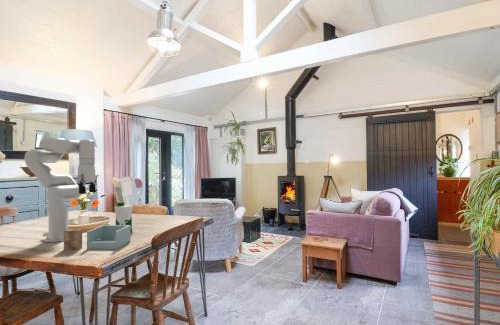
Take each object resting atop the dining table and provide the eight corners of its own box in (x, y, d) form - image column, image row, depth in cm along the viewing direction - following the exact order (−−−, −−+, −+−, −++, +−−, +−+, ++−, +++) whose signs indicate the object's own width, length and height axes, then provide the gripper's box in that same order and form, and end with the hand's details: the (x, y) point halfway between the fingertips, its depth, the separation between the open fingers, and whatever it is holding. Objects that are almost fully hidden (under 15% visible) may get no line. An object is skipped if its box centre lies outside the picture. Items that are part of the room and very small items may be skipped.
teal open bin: (86, 248, 140) (86, 231, 140) (103, 240, 155) (103, 225, 155) (117, 248, 140) (117, 231, 140) (130, 240, 155) (130, 225, 155)
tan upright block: (63, 250, 138) (63, 230, 139) (67, 248, 141) (67, 229, 141) (78, 250, 138) (78, 230, 138) (82, 248, 141) (82, 229, 141)
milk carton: (122, 232, 175) (122, 201, 175) (134, 232, 173) (134, 201, 173) (112, 235, 166) (112, 203, 166) (125, 236, 164) (125, 203, 165)
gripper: (88, 162, 158) (89, 191, 157) (70, 161, 140) (70, 194, 140) (102, 162, 158) (102, 191, 157) (84, 161, 141) (85, 194, 140)
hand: (87, 192), depth 149 cm, fingers open, 9 cm apart
